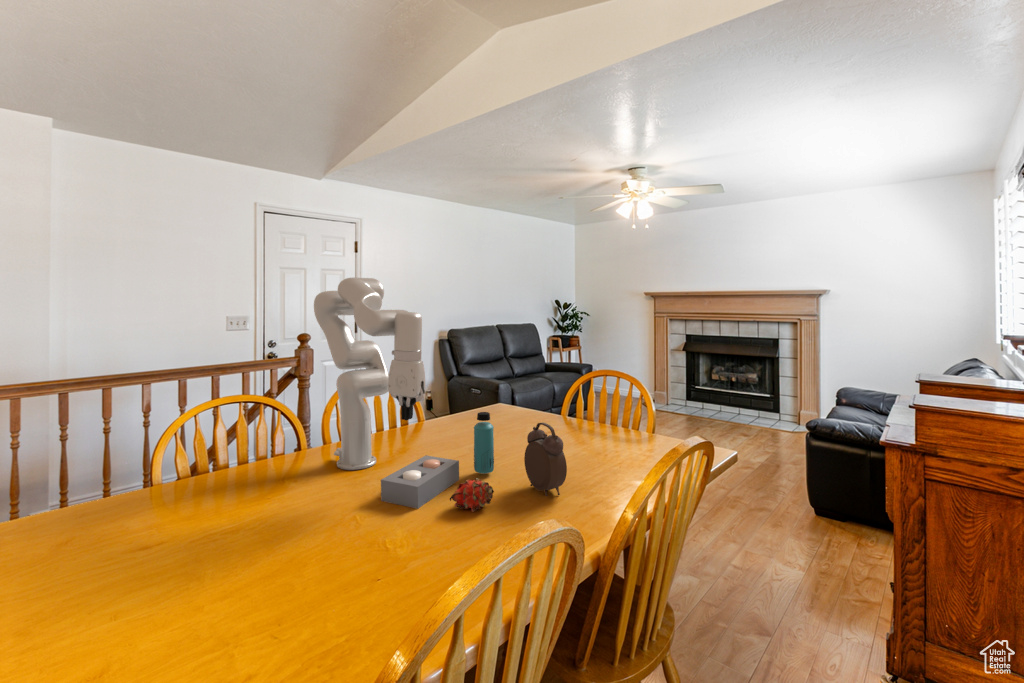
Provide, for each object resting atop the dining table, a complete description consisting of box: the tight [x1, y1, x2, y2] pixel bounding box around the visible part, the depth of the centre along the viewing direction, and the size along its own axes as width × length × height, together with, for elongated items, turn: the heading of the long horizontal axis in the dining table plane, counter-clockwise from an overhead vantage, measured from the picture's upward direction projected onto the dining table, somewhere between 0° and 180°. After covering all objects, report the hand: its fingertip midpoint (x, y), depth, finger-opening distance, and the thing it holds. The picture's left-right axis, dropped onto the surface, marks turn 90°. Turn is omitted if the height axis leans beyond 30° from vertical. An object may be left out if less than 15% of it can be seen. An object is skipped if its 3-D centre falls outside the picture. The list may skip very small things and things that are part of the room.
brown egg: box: [423, 459, 440, 469], centre depth 141 cm, size 5×5×4 cm
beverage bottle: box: [473, 411, 495, 474], centre depth 148 cm, size 6×7×20 cm
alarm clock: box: [523, 422, 568, 497], centre depth 136 cm, size 14×7×20 cm, turn 30°
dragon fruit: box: [449, 477, 495, 513], centre depth 125 cm, size 8×8×12 cm
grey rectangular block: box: [380, 455, 460, 510], centre depth 137 cm, size 12×22×6 cm, turn 157°
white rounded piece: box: [403, 470, 421, 481], centre depth 132 cm, size 5×5×4 cm
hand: (406, 418), depth 135 cm, fingers closed
